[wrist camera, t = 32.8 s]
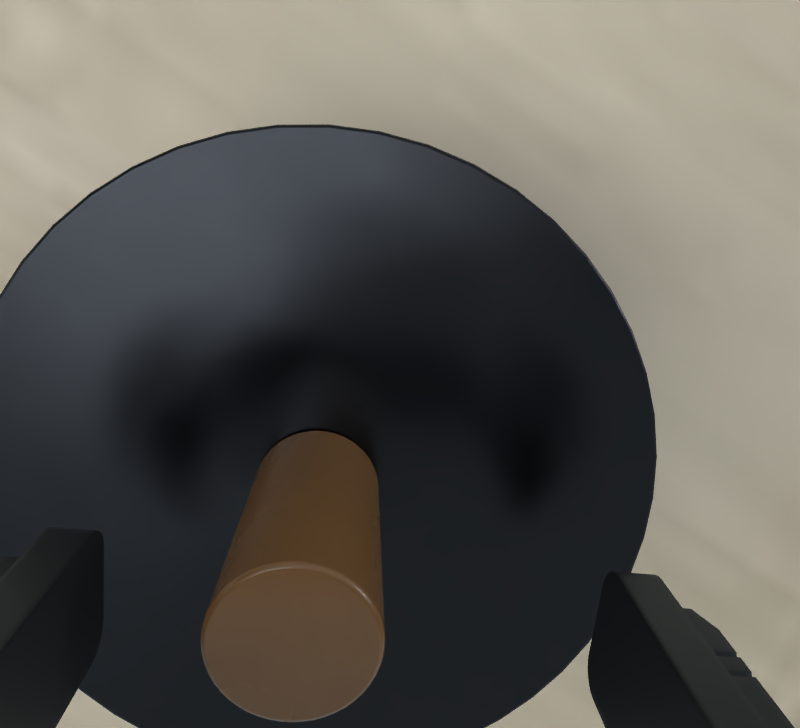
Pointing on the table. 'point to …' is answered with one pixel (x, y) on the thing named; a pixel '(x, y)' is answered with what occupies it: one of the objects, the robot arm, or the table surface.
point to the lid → (324, 432)
